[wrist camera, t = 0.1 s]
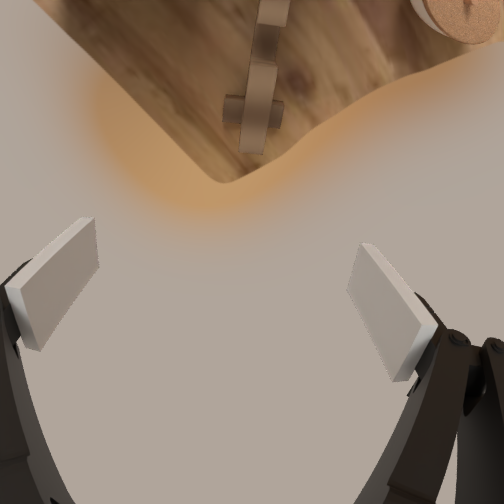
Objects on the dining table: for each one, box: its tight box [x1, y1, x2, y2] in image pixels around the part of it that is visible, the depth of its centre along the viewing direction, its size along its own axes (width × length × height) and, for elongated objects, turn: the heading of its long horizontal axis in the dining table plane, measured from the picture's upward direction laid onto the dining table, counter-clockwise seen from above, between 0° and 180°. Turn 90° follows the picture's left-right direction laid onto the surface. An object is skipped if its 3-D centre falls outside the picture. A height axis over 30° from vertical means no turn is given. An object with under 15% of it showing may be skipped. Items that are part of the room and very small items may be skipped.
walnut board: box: [222, 0, 290, 155], centre depth 26 cm, size 22×7×10 cm, turn 172°
